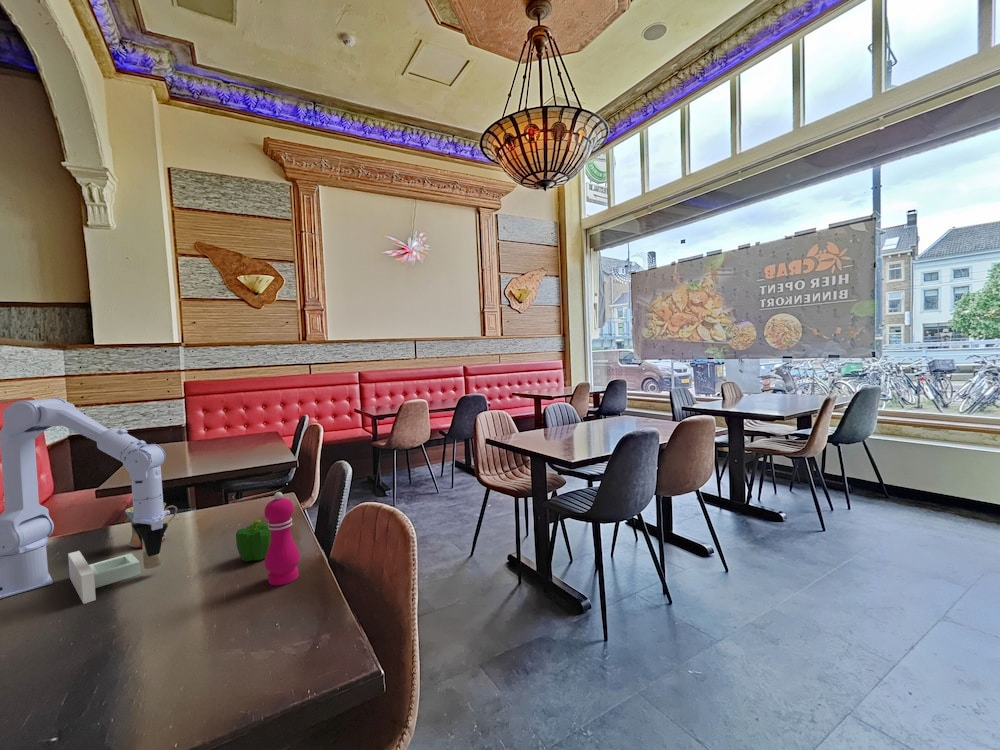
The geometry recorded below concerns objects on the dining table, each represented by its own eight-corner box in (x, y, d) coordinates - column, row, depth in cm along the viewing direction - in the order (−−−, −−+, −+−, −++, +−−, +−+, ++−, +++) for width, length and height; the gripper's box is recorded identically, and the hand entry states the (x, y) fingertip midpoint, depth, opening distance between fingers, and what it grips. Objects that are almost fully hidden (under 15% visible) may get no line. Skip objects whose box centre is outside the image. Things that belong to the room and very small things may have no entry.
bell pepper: (234, 558, 117) (231, 520, 117) (268, 548, 123) (266, 511, 122) (241, 568, 111) (239, 528, 111) (278, 557, 116) (275, 519, 116)
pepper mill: (287, 587, 100) (281, 497, 99) (258, 586, 101) (252, 496, 101) (307, 572, 107) (302, 487, 106) (280, 571, 109) (275, 487, 108)
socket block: (91, 589, 104) (90, 576, 104) (84, 578, 110) (83, 566, 109) (140, 574, 110) (139, 561, 110) (132, 564, 116) (131, 553, 116)
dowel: (145, 569, 107) (143, 536, 107) (142, 566, 109) (140, 533, 109) (162, 564, 110) (160, 531, 109) (158, 561, 112) (156, 529, 112)
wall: (83, 603, 97) (81, 576, 97) (69, 578, 110) (68, 553, 110) (95, 599, 99) (93, 572, 98) (81, 574, 112) (79, 550, 112)
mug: (132, 553, 124) (129, 514, 124) (124, 545, 130) (121, 508, 130) (183, 538, 133) (181, 502, 133) (174, 532, 139) (171, 497, 139)
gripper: (176, 497, 107) (180, 554, 108) (159, 488, 117) (163, 540, 117) (139, 505, 102) (143, 565, 102) (124, 495, 111) (128, 550, 112)
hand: (151, 553), depth 109 cm, fingers closed on dowel, 3 cm apart
